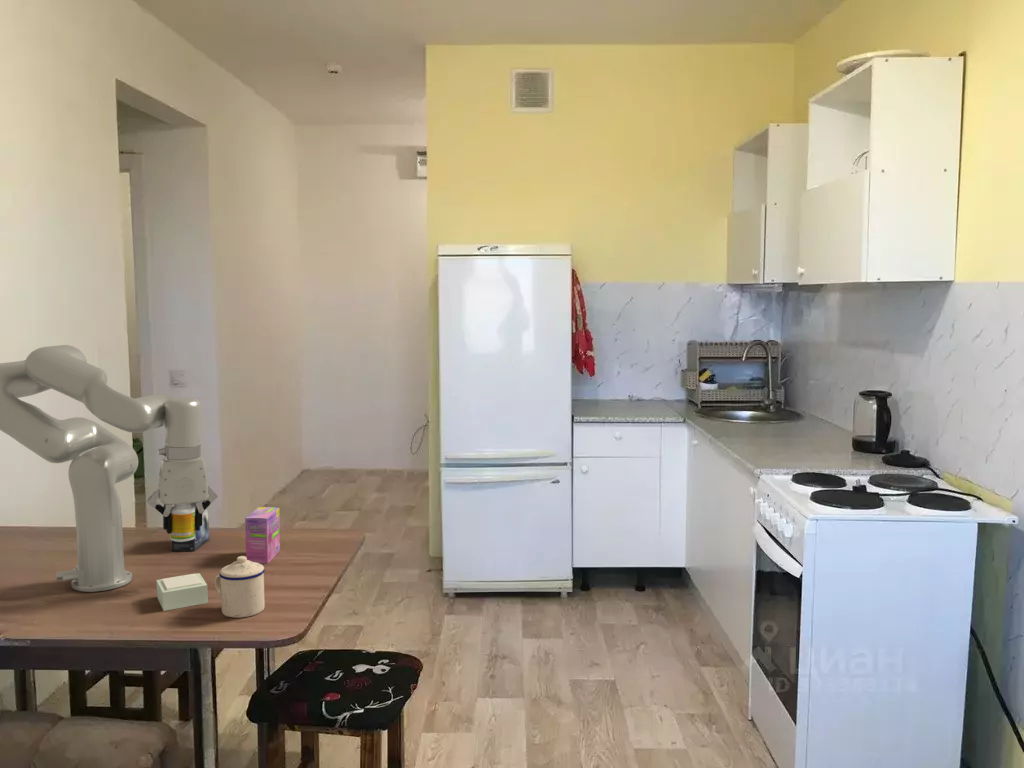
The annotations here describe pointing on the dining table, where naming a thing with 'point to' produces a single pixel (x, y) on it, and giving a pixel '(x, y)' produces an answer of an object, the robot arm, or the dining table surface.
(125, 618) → the dining table surface
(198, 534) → the small box
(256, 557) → the box
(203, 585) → the pedestal
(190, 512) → the supplement bottle
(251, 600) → the teacup with lid
